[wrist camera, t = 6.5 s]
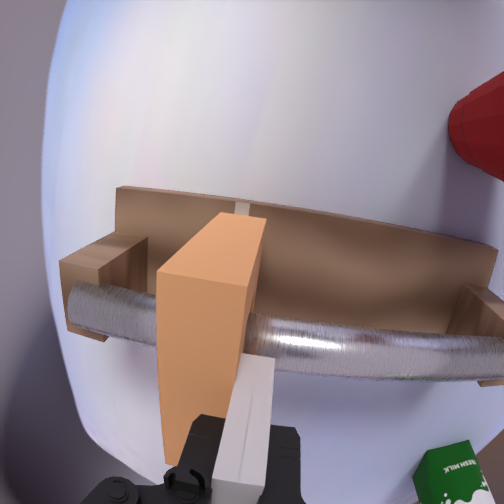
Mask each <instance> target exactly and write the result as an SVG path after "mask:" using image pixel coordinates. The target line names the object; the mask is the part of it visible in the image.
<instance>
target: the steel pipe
mask: <svg viewBox="0 0 504 504" xmlns="http://www.w3.org/2000/svg"><path fill="white" fill-rule="evenodd" d="M67 311H68V317H69V320H70V322H71V323H72V324H73V325H74V326H77V327H80V328H83V329H86V330H90V331H93V332H96V333H100V334H103V335H106V336H110V337H114V338H117V339H121V340H124V341H128V342H132V343H136V344H140V345H144V346H148V347H152V348H156V349H157V327H156V295H155V294H150V293H145V292H140V291H136V290H131V289H126V288H122V287H117V286H113V285H108V284H100V285H95V284H91V283H86V282H82V281H77V282H76V283H75V285H74V286H73V288H72V290H71V292H70V295H69V299H68V305H67ZM243 353H244V354H251V355H257V356H264V357H270V358H275V369H274V371H279V372H287V373H295V374H304V375H313V376H322V377H333V378H345V379H359V380H376V381H402V382H456V381H481V380H497V379H504V339H503V338H502V337H490V336H468V335H451V334H436V333H423V332H411V331H400V330H389V329H379V328H369V327H360V326H351V325H342V324H334V323H326V322H318V321H310V320H303V319H296V318H289V317H282V316H275V315H268V314H262V313H255V312H249V316H248V320H247V325H246V332H245V339H244V346H243Z"/></svg>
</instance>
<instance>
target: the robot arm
mask: <svg viewBox="0 0 504 504" xmlns="http://www.w3.org/2000/svg"><path fill="white" fill-rule="evenodd" d="M274 369H275V358H270V357H264V356H257V355H251V354H244V353H241V357H240V362H239V366H238V371H237V375H236V380H235V384H234V387H233V391H232V395H231V400H230V404H229V408H228V412H227V417H226V419H225V418H220V417H215V416H210V415H205V414H200V415H199V416H198V417H197V418H196V419H195V420H194V421H193V422H192V425H191V427H190V430H189V434H188V436H187V439H186V443H185V445H184V448H183V451H182V454H181V456H180V459H179V462H178V465H177V466H175V467H173V468H171V469H169V470H168V471H167V472H166V474H165V475H164V476H163V477H164V483H163V484H160V485H154V486H145V485H134V484H133V483H132V482H131V481H130V480H128V479H125V478H123V477H109V478H106V479H104V480H103V481H101V482H100V483H99V484H98V485H97V486H96V487H95V488H94V489H93V491H92V492H91V493H90V494H89V495H88V496H87V497H86V498H85V499H84V500H83V501H82V502H81V503H80V504H306V503H305V502H304V501H303V499H302V497H301V491H300V436H299V435H298V433H297V431H296V429H295V427H286V426H277V425H270V422H271V410H272V397H273V383H274Z"/></svg>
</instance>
